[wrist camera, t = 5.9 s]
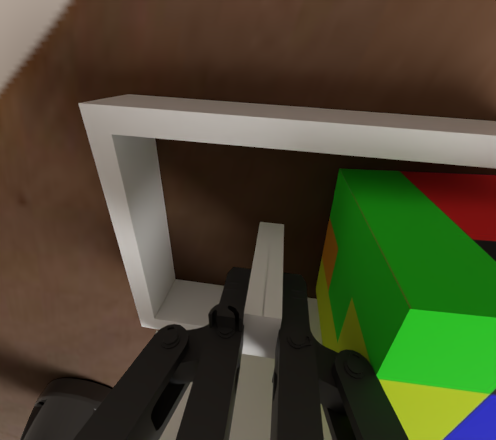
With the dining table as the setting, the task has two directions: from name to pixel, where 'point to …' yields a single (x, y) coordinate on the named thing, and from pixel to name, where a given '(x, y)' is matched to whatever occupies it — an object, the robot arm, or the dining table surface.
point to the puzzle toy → (417, 294)
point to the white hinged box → (241, 134)
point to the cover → (245, 403)
